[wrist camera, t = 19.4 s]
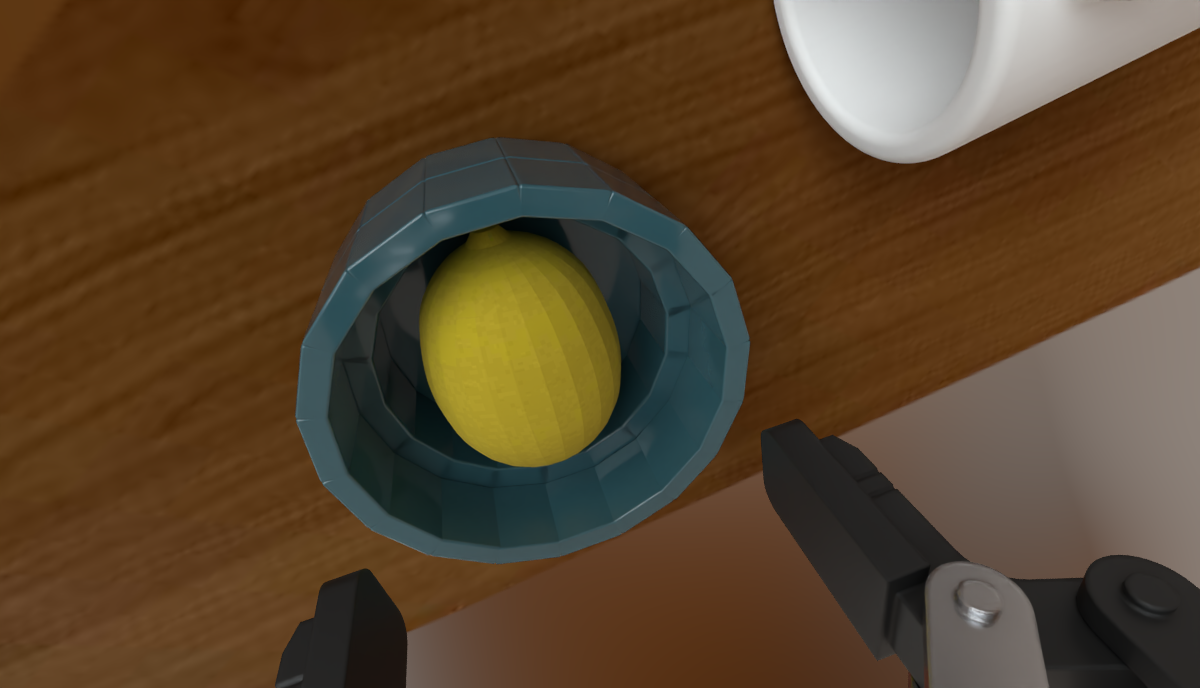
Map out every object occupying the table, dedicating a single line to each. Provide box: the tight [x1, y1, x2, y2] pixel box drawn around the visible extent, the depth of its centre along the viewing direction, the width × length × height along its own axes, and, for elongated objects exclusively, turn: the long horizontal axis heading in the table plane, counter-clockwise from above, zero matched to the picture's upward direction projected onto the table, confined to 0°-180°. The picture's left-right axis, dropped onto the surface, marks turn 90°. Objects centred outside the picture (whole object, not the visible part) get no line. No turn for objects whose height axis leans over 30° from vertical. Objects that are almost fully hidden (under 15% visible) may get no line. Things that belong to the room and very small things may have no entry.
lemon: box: [419, 224, 621, 467], centre depth 16 cm, size 6×6×8 cm
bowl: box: [295, 137, 750, 564], centre depth 17 cm, size 11×12×6 cm
